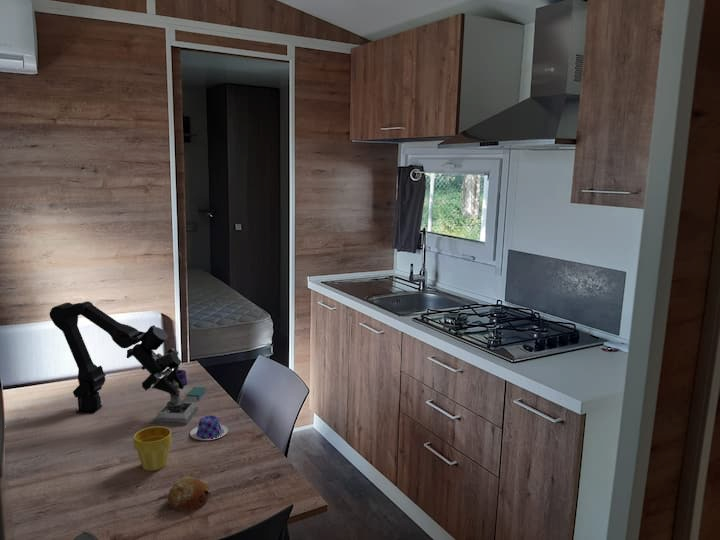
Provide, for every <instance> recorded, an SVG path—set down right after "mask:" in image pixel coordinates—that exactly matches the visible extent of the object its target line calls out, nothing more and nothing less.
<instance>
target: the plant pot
mask: <svg viewBox="0 0 720 540" xmlns="http://www.w3.org/2000/svg"><path fill="white" fill-rule="evenodd" d="M172 436H173V434H172V430H171V429H170V428H169V427H166V426H159V425H157V426H150V427H145V428H141V429H140V430H138V431H137V432H136V433H134V435H133V437H132V439H133V447H134V450H135V451H136V452H137V454H138V457H139V461H140V463H141V466H142V469H144V470H145V471H148V472H149V471H151V472H152V471H158V470H161V469H163V468H164V467H166V465H167V464H168V463H167V462H168V456H169V451H170V446H171V445H172V443H173V437H172Z"/></svg>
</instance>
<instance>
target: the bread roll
mask: <svg viewBox="0 0 720 540" xmlns="http://www.w3.org/2000/svg"><path fill="white" fill-rule="evenodd" d="M209 491H210V487H209V485H208V484H207V483H206V482H203V481H202V480H200V479H198V478H195V477H192V476H189V475H188V476H183V477H180V478H179V479H178V480H177V481H175V482H174V483H173V485H172V486H171V488H170V490H169V492H168V494H167V503H168V506H169V507H170V509H171V510H174V511H176V512H177V511H178V512H185V511H186V512H187V511H191V510H196V509H198V508H200V507H202V506H203V505H204V504H206V502H207V501H208V500H209V496H210V495H211V493H210V492H209Z"/></svg>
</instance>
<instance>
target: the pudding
mask: <svg viewBox="0 0 720 540" xmlns="http://www.w3.org/2000/svg"><path fill="white" fill-rule="evenodd" d="M221 428H222V429H223V430H224V433H223V434H222V429H221ZM228 432H229V429H228V427H227V426H226V425H223V424H221V423H220V420H219V418H218V417H217V416H215V415H205V416H203V417H201V418H200V419H199V421H198V426H196V427H194V428H193V429H191V430H190V433H189V435H190V437H191V438H193V439H195V440H198V441H199V440H200V441H212V440H216V439H219V438H222V437H224V436H225V435H226V434H228ZM221 434H222V435H221ZM220 435H221V436H220ZM215 436H217V438H215ZM218 436H219V437H218ZM213 437H214V438H213ZM203 438H205V439H203ZM211 438H213V439H211Z"/></svg>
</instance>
